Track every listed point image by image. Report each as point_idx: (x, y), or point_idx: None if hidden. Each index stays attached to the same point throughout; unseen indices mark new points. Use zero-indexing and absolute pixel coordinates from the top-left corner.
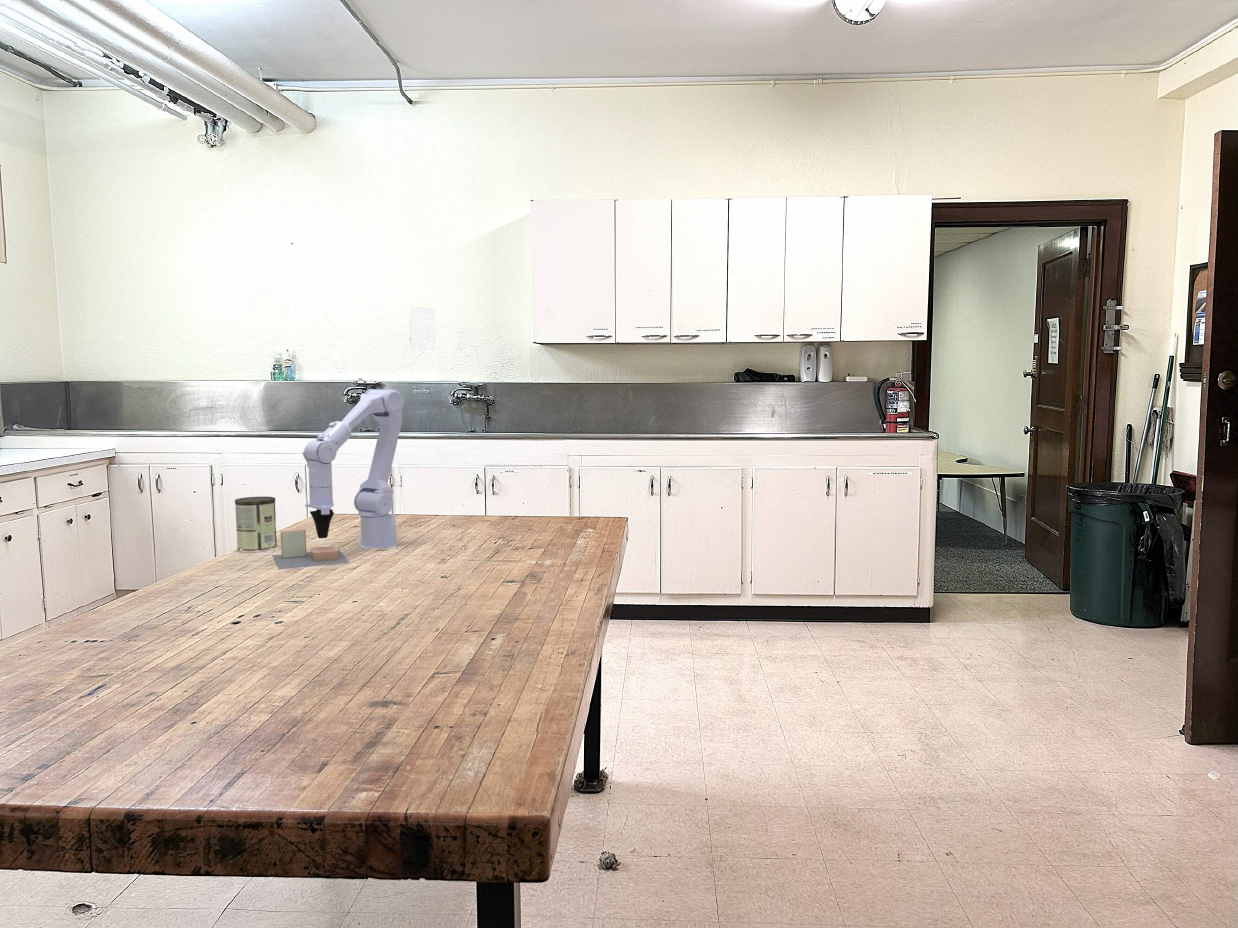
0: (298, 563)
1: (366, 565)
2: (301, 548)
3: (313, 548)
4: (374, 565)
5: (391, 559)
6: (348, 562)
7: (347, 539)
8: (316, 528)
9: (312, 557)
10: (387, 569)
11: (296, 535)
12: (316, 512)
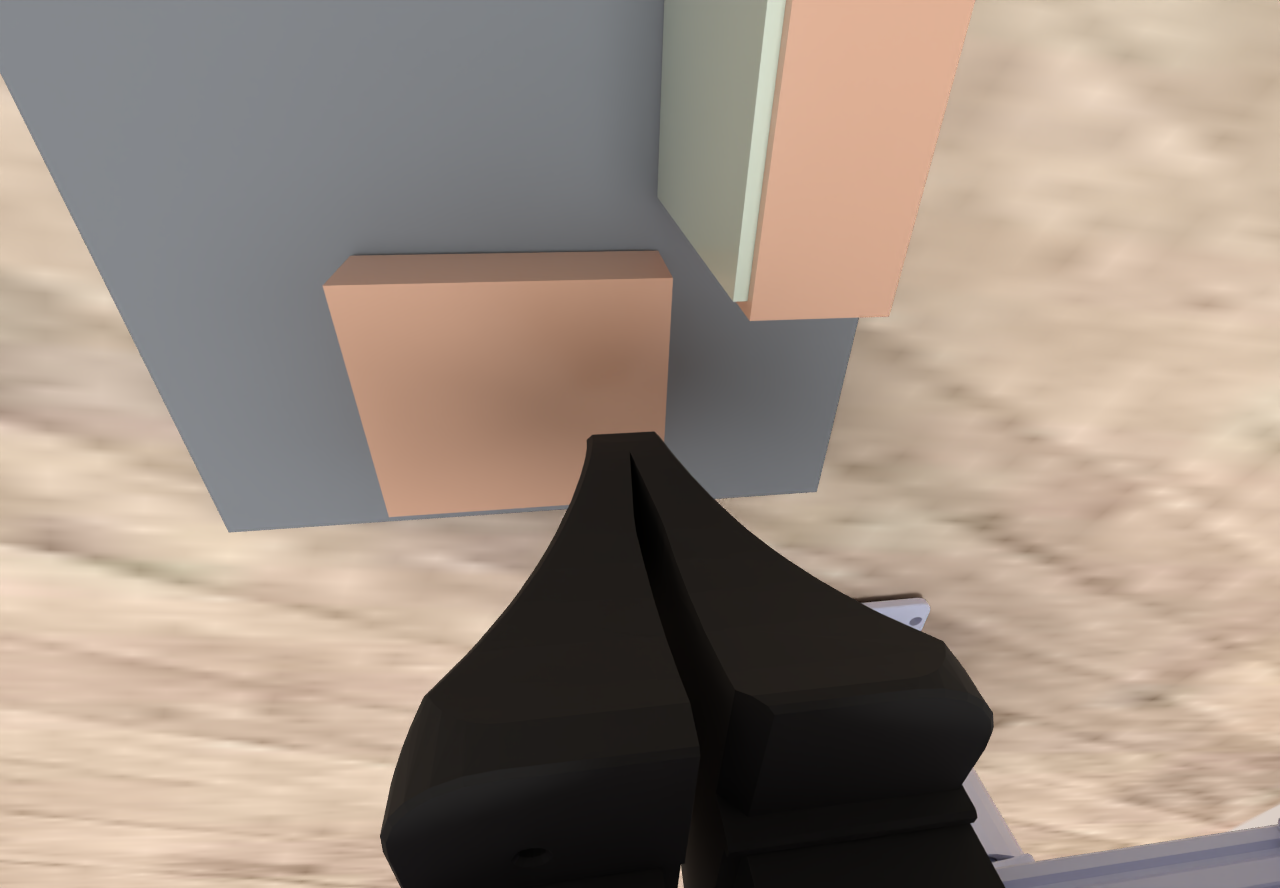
0: (256, 46)
1: (172, 611)
2: (676, 164)
3: (624, 309)
4: (168, 649)
5: (365, 720)
6: (237, 524)
7: (1154, 551)
8: (613, 501)
9: (488, 256)
10: (9, 703)
11: (729, 116)
12: (486, 858)
